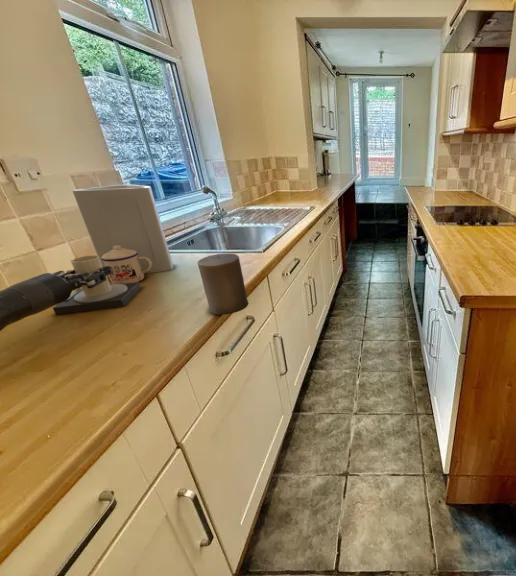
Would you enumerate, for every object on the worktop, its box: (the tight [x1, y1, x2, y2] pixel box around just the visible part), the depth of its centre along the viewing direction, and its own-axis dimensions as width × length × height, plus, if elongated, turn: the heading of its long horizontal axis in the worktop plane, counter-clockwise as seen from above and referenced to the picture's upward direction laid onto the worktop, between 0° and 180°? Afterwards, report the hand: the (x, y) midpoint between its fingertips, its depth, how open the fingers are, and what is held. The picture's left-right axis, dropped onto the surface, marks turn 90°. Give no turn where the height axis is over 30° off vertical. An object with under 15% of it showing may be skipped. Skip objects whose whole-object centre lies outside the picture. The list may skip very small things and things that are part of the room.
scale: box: [52, 281, 142, 315], centre depth 90 cm, size 15×13×2 cm
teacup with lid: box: [101, 245, 151, 284], centre depth 102 cm, size 12×9×12 cm
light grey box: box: [72, 183, 174, 279], centre depth 109 cm, size 19×15×28 cm
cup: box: [70, 254, 112, 297], centre depth 87 cm, size 6×6×10 cm
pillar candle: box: [197, 252, 249, 316], centre depth 83 cm, size 10×10×15 cm
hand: (98, 269), depth 89 cm, fingers open, 6 cm apart
